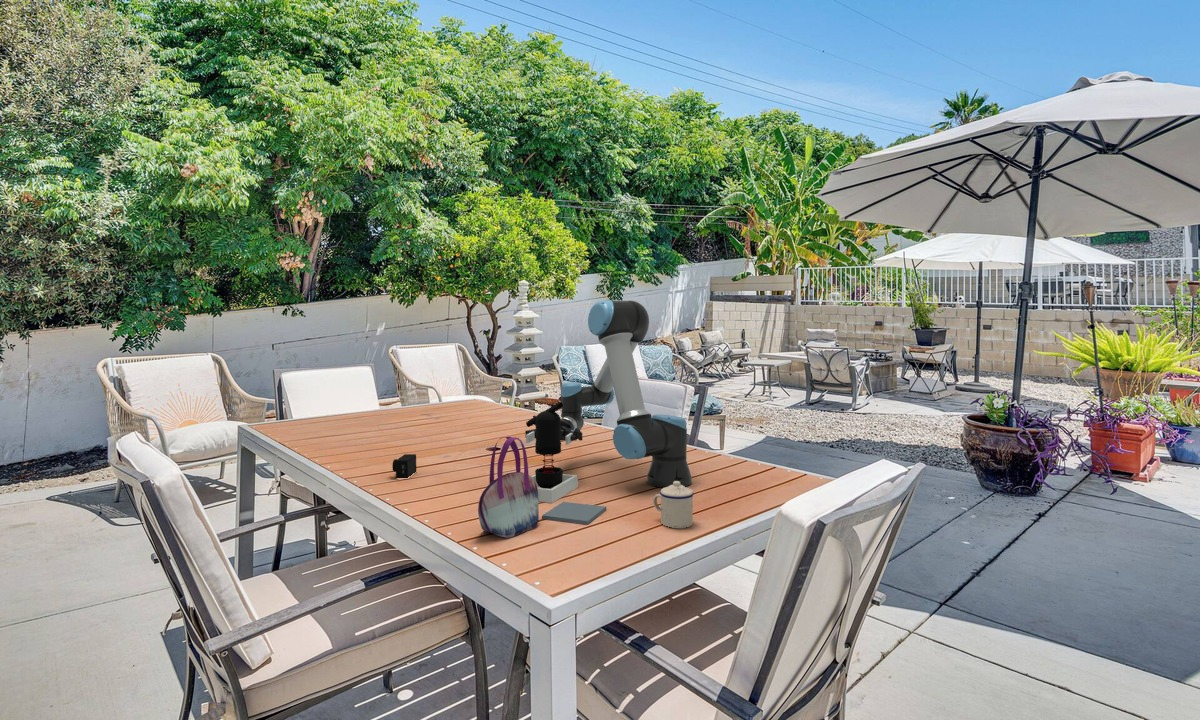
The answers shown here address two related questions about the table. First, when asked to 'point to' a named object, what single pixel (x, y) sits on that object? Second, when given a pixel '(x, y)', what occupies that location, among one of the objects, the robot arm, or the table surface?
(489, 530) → the handbag
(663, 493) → the teacup with lid
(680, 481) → the robot arm
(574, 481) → the white open rectangular box
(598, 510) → the slate mat
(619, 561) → the table surface
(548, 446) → the filter
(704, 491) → the table surface
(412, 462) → the digital camera
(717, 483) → the table surface
